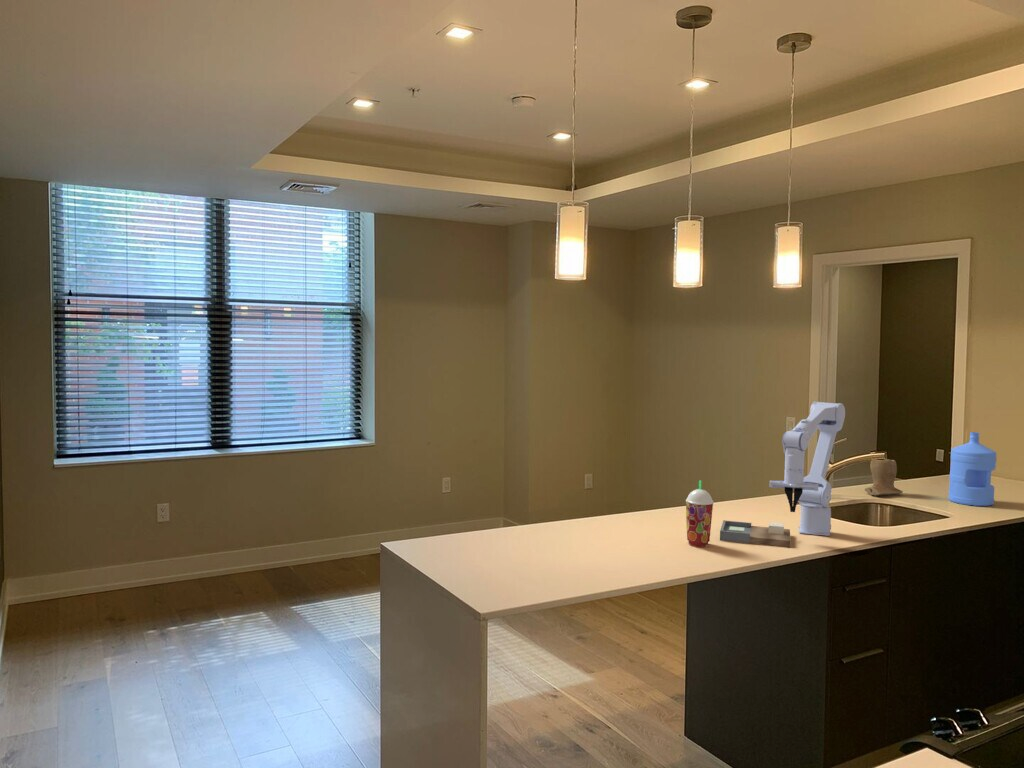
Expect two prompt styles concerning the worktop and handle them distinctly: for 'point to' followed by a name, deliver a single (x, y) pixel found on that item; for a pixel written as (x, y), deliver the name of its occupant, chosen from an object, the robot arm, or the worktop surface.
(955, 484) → the water jug
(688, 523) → the smoothie
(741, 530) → the sage tile
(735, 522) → the slate tray
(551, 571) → the worktop surface
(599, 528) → the worktop surface
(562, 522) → the worktop surface
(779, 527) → the cream tile
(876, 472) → the stone cup
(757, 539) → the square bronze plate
